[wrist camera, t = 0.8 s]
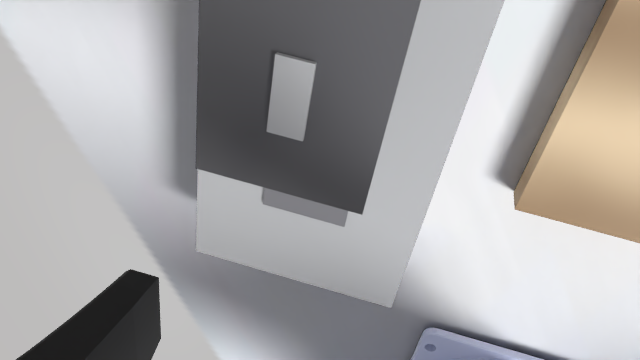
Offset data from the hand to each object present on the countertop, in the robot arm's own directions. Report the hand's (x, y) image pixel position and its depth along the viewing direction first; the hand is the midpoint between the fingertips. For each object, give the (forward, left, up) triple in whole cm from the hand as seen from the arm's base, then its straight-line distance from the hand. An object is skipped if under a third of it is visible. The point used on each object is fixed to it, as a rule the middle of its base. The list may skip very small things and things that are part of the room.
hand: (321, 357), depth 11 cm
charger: (+4, +2, -10) cm, 11 cm away
